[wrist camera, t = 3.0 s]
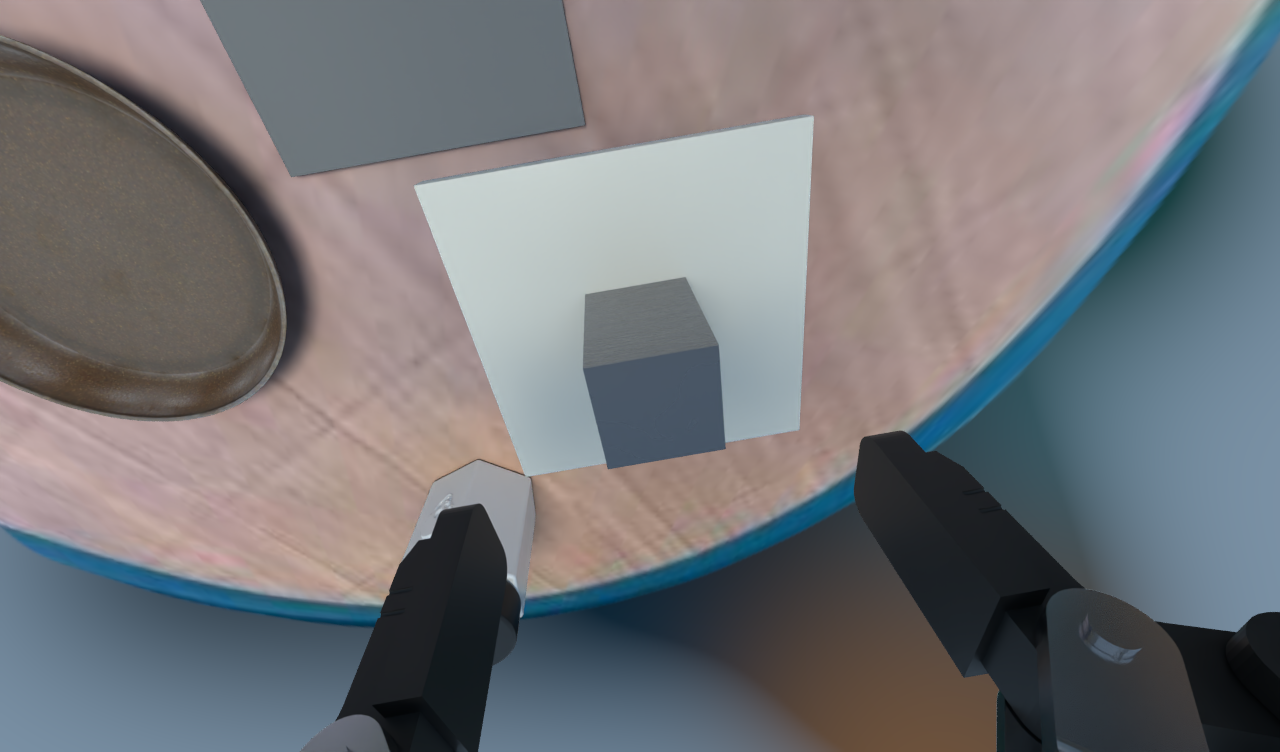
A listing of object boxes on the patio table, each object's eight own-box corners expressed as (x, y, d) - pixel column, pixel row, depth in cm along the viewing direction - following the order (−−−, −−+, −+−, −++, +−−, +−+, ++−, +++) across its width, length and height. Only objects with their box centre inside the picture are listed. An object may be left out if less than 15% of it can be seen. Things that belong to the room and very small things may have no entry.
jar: (499, 444, 36) (464, 582, 26) (558, 505, 41) (547, 645, 30) (410, 490, 38) (344, 636, 28) (475, 544, 42) (438, 689, 32)
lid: (803, 114, 14) (912, 128, 10) (792, 418, 21) (854, 521, 16) (421, 181, 14) (334, 229, 10) (528, 464, 21) (508, 580, 16)
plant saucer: (200, 443, 34) (165, 475, 32) (-204, 215, 25) (-306, 231, 22) (384, 275, 29) (362, 295, 26) (-38, -100, 19) (-145, -131, 17)
